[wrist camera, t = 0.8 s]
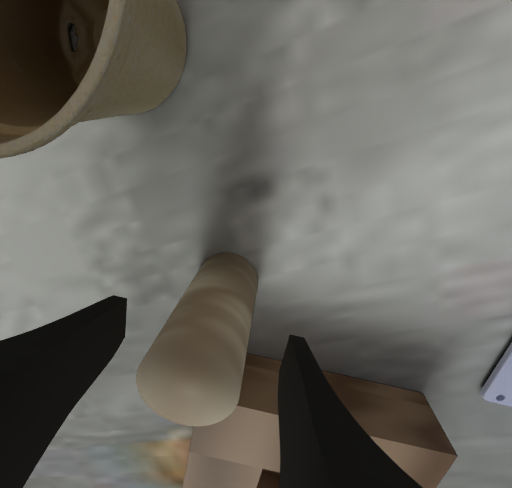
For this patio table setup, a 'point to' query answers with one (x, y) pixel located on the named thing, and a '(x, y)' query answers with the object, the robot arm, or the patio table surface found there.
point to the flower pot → (83, 64)
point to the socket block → (268, 441)
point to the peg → (202, 346)
